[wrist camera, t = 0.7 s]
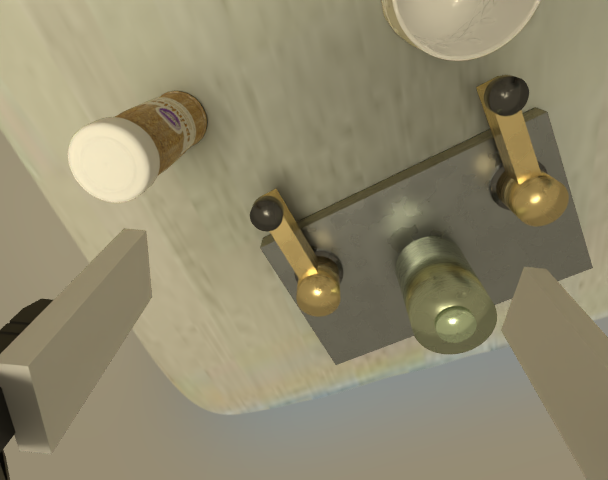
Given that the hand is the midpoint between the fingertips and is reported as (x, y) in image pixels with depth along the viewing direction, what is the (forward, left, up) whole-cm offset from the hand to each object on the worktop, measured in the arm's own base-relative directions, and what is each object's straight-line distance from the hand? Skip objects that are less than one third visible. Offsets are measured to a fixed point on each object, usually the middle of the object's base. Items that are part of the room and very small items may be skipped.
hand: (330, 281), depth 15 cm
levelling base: (-3, +13, -23) cm, 26 cm away
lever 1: (+6, +6, -20) cm, 22 cm away
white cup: (-11, -6, -23) cm, 26 cm away
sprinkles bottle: (+10, -7, -23) cm, 26 cm away
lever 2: (-12, +6, -20) cm, 25 cm away
